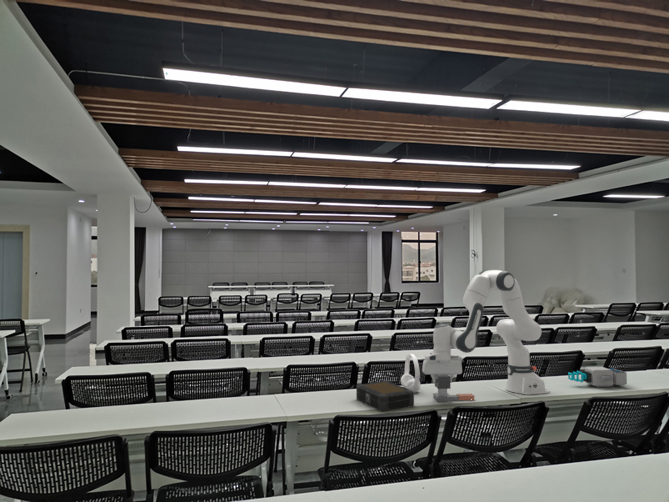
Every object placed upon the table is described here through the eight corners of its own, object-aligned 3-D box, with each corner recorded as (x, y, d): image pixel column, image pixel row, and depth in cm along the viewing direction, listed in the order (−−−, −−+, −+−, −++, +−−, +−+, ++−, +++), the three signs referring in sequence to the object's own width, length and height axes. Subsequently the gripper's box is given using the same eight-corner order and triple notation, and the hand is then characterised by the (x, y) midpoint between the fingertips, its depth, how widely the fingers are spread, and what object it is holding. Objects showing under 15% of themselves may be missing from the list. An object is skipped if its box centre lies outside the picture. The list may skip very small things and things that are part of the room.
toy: (562, 365, 273) (611, 365, 274) (562, 382, 272) (612, 382, 273) (577, 371, 256) (630, 371, 257) (578, 390, 256) (630, 389, 257)
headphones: (423, 394, 248) (422, 356, 249) (409, 394, 247) (408, 357, 248) (411, 385, 268) (411, 350, 269) (398, 385, 267) (398, 351, 268)
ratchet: (470, 397, 242) (470, 382, 243) (475, 401, 235) (475, 386, 235) (433, 398, 241) (433, 383, 241) (437, 402, 233) (437, 387, 234)
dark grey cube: (446, 385, 241) (446, 374, 241) (450, 388, 235) (450, 376, 235) (434, 385, 241) (434, 374, 241) (438, 388, 234) (438, 376, 234)
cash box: (354, 399, 239) (354, 384, 239) (386, 394, 249) (386, 380, 249) (381, 413, 217) (380, 396, 217) (415, 406, 227) (415, 391, 227)
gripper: (459, 354, 242) (460, 381, 242) (421, 354, 241) (421, 381, 240) (463, 356, 236) (464, 383, 235) (424, 357, 234) (424, 384, 234)
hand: (442, 382), depth 238 cm, fingers closed on dark grey cube, 6 cm apart
